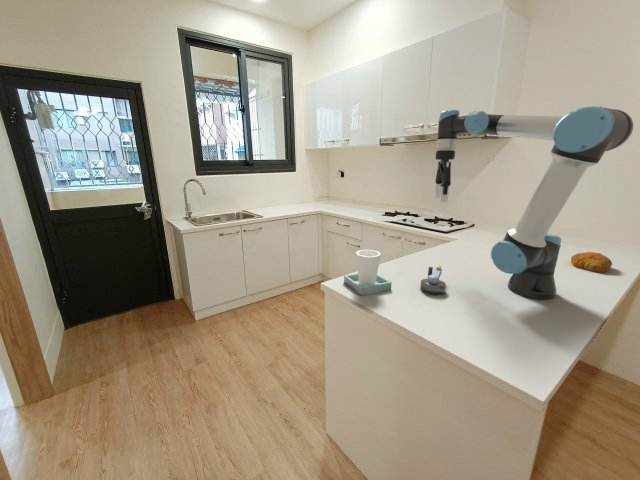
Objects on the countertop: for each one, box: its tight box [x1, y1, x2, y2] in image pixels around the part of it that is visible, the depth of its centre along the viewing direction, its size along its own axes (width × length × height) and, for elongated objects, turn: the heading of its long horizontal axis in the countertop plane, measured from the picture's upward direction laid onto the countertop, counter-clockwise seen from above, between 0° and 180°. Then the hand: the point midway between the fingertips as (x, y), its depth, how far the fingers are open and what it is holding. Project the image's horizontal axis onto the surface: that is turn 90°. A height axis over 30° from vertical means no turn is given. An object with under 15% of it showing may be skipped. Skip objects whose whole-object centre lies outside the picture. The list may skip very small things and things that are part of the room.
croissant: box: [570, 251, 613, 273], centre depth 138 cm, size 14×16×8 cm
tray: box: [343, 272, 392, 297], centre depth 119 cm, size 14×14×3 cm
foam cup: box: [355, 249, 381, 287], centre depth 117 cm, size 10×9×13 cm
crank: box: [427, 265, 443, 284], centre depth 117 cm, size 13×4×3 cm, turn 149°
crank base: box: [420, 266, 446, 296], centre depth 115 cm, size 12×10×6 cm
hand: (440, 200), depth 131 cm, fingers open, 13 cm apart
